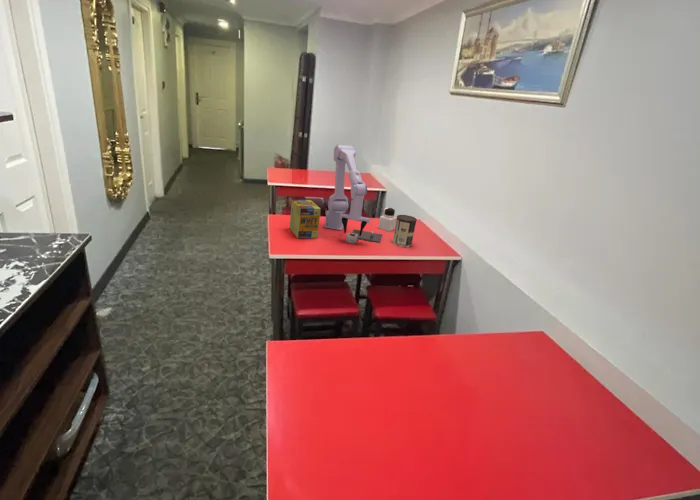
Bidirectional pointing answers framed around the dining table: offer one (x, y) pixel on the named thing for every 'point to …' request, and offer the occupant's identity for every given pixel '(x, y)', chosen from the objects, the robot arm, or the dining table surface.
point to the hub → (351, 238)
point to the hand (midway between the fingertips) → (352, 234)
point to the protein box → (304, 218)
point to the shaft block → (368, 236)
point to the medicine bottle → (387, 220)
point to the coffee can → (404, 230)
